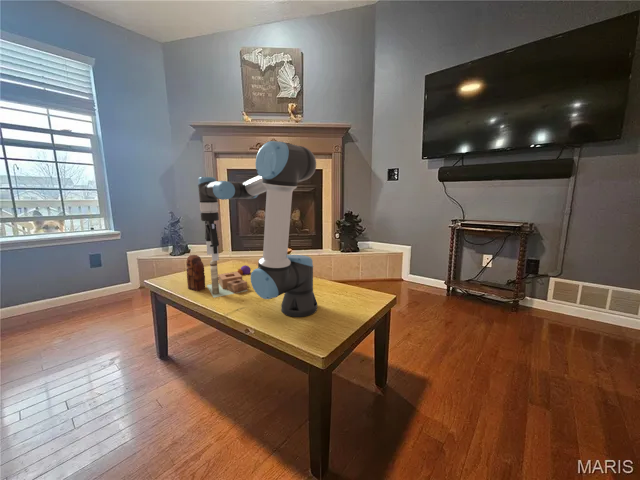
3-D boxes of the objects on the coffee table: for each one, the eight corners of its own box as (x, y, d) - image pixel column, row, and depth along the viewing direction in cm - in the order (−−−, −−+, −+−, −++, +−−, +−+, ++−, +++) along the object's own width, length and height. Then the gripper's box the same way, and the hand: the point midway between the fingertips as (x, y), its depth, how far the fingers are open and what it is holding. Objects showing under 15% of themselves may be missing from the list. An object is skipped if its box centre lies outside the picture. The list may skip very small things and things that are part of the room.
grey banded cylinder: (220, 293, 124) (217, 261, 121) (213, 295, 122) (210, 262, 119) (218, 291, 126) (216, 259, 124) (211, 292, 125) (209, 260, 122)
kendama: (215, 274, 145) (245, 264, 160) (218, 284, 145) (247, 273, 160) (220, 274, 141) (251, 264, 156) (223, 285, 141) (253, 273, 156)
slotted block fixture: (248, 292, 128) (247, 281, 127) (213, 299, 119) (212, 287, 118) (237, 281, 144) (236, 271, 143) (206, 286, 136) (205, 275, 135)
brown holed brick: (247, 289, 129) (246, 281, 129) (234, 293, 124) (233, 285, 124) (240, 286, 134) (239, 278, 133) (227, 289, 129) (226, 282, 128)
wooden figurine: (184, 289, 133) (180, 255, 130) (196, 285, 138) (192, 252, 135) (197, 294, 126) (193, 258, 123) (208, 290, 131) (206, 255, 128)
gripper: (224, 213, 109) (227, 262, 113) (213, 210, 130) (216, 251, 134) (204, 214, 105) (208, 264, 109) (196, 210, 126) (200, 252, 130)
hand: (212, 257), depth 121 cm, fingers open, 13 cm apart
